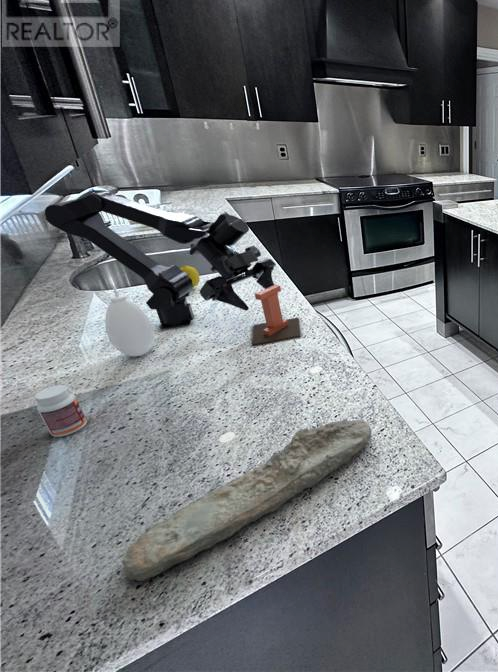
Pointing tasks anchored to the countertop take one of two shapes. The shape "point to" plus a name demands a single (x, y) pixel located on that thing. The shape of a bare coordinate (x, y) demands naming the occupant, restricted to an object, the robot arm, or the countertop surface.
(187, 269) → the lemon
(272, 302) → the letter I
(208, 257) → the robot arm
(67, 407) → the pill bottle
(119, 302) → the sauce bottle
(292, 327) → the dark brown square tile
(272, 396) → the countertop surface
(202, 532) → the long grey stone
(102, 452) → the countertop surface
